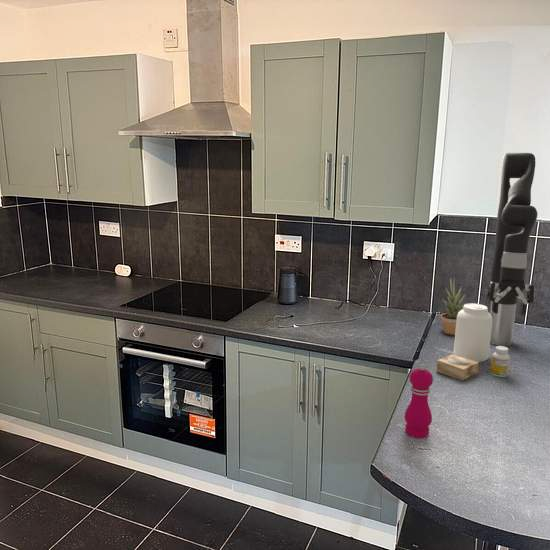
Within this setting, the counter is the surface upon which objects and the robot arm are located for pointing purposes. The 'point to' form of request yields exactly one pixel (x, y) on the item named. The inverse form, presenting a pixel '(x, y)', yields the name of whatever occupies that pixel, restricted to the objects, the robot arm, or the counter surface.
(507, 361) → the supplement bottle
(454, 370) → the pedestal
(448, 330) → the potted plant
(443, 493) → the counter surface
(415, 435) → the pepper mill
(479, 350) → the white jar
